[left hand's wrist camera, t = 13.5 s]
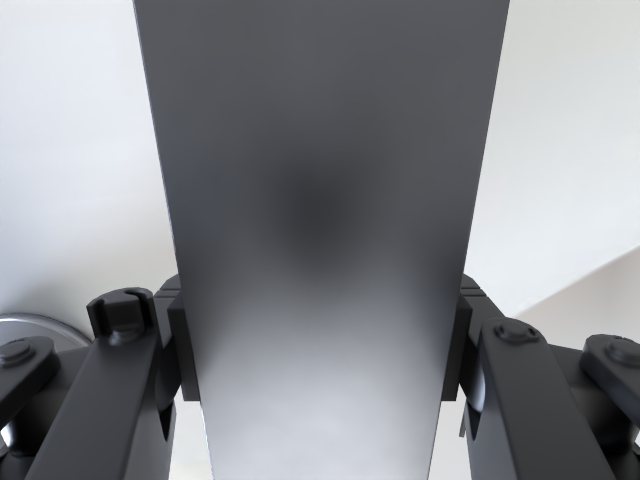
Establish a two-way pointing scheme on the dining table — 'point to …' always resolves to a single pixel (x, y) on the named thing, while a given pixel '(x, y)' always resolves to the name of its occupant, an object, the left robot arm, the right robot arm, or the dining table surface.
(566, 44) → the dining table surface
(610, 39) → the dining table surface
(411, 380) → the bar
